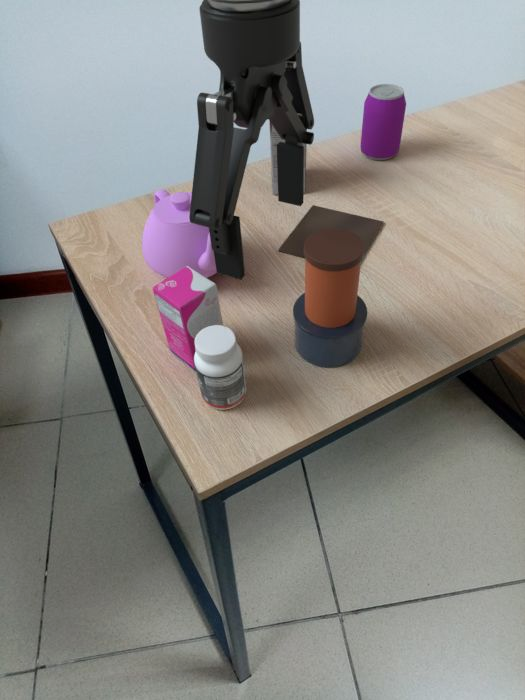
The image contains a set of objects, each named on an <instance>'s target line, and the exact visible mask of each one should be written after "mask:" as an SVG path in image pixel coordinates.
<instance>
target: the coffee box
mask: <svg viewBox="0 0 525 700" xmlns="http://www.w3.org/2000/svg"><path fill="white" fill-rule="evenodd" d="M297 114H298V113H297ZM298 115H301V114H298ZM306 131H307V132H308V129H307V130H306ZM279 142H284V143H285V140H282V139H281V137H280V136H279V134H278V133H277V131H276V130H275V128H274V127H273V125H272V124H271V122H270V121H269V143H270V145H269V147H270V149H269V150H270V170H271V189H272V190H271V191H272V192H271V194H272V195H273V196H278V172H277V144H278V143H279ZM307 145H308V144H304V143H302V146H304V189H303V195H304V194H306V192H307V191H306V189H307V188H306V187H307V185H306V184H307V147H308V146H307Z"/></svg>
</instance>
